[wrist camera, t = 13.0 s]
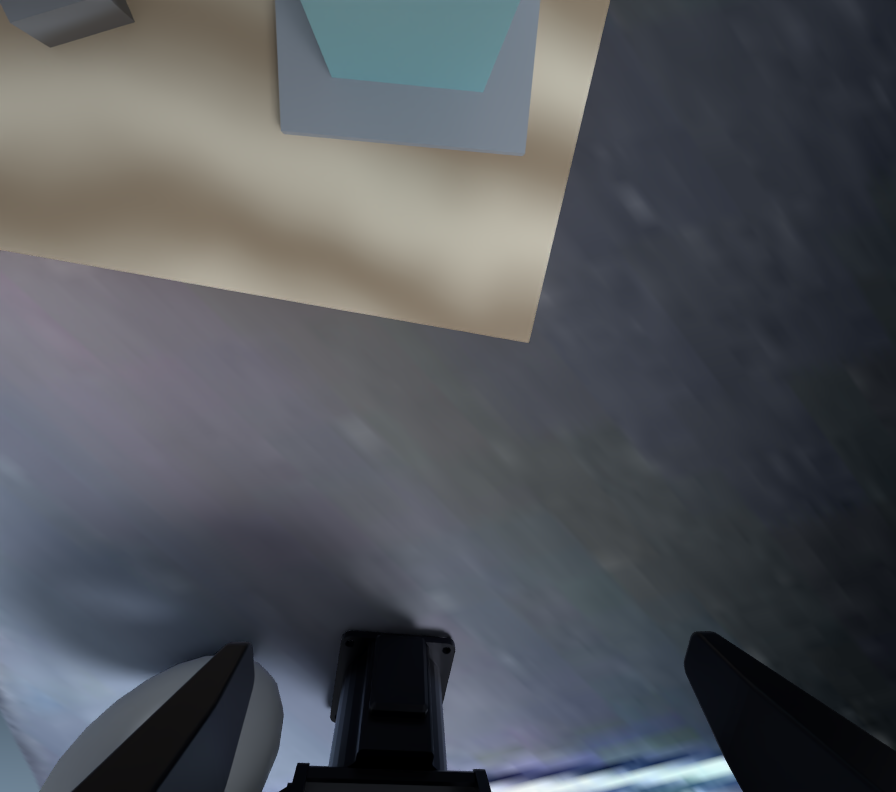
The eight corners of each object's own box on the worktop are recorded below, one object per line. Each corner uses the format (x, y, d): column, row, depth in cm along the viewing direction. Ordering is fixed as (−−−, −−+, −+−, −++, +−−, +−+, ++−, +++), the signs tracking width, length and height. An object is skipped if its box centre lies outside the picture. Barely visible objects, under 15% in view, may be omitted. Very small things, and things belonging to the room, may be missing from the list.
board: (520, 337, 20) (538, 348, 17) (-55, 235, 17) (-150, 228, 14) (617, -84, 16) (663, -162, 13) (-127, -325, 13) (-285, -501, 10)
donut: (296, 622, 24) (218, 861, 14) (311, 668, 25) (248, 922, 15) (115, 657, 23) (-92, 927, 14) (138, 703, 24) (-39, 984, 15)
